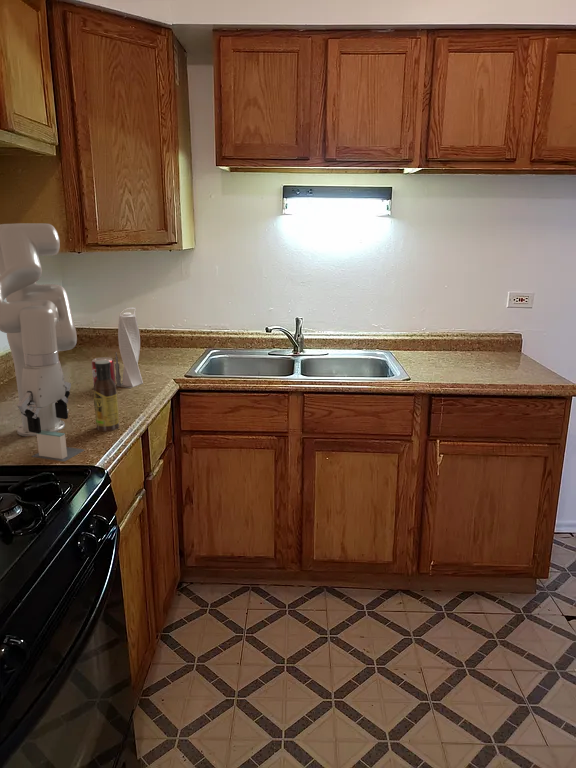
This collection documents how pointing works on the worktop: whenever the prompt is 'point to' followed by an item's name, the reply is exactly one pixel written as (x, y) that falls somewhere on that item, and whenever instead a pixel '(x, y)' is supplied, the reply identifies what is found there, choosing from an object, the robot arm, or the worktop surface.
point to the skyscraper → (128, 350)
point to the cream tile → (52, 444)
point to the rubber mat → (70, 453)
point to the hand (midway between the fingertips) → (49, 424)
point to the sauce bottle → (105, 398)
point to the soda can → (112, 370)
